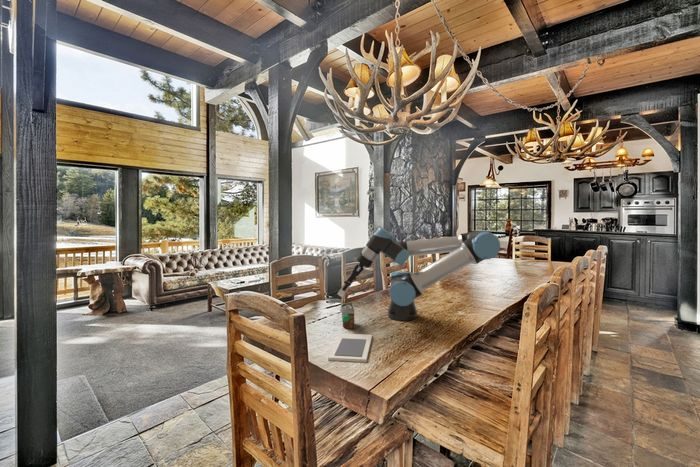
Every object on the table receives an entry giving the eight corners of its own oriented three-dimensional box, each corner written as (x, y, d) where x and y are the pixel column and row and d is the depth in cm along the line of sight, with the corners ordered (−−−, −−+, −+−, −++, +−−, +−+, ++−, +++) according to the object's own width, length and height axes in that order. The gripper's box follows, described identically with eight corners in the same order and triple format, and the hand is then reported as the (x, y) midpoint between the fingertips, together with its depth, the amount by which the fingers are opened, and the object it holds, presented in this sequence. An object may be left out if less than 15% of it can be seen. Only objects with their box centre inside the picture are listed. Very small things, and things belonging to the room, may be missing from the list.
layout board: (372, 337, 142) (372, 334, 142) (366, 362, 118) (366, 358, 118) (340, 335, 144) (340, 332, 144) (328, 360, 120) (328, 356, 120)
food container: (339, 322, 162) (339, 302, 161) (352, 321, 162) (351, 301, 162) (341, 331, 149) (340, 309, 149) (354, 330, 150) (354, 309, 149)
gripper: (363, 249, 169) (340, 282, 172) (357, 255, 145) (330, 293, 148) (375, 257, 169) (352, 290, 172) (371, 265, 144) (343, 303, 147)
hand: (342, 292), depth 160 cm, fingers open, 13 cm apart
